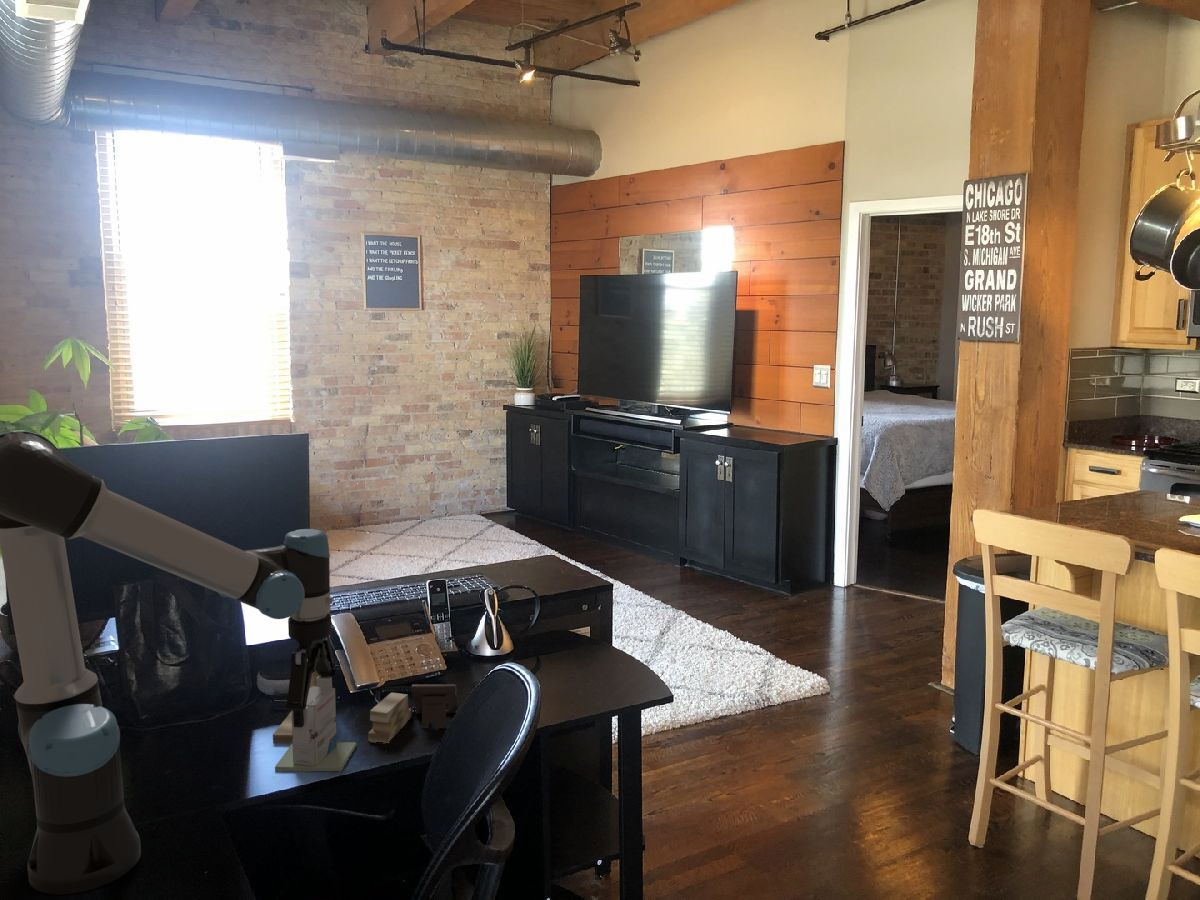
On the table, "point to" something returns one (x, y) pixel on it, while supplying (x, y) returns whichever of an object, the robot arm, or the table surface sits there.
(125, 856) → the robot arm
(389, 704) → the offcut stack
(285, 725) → the wooden bookend
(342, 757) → the sage mat
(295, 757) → the ink box
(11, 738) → the table surface
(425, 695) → the portable electronic device stand
